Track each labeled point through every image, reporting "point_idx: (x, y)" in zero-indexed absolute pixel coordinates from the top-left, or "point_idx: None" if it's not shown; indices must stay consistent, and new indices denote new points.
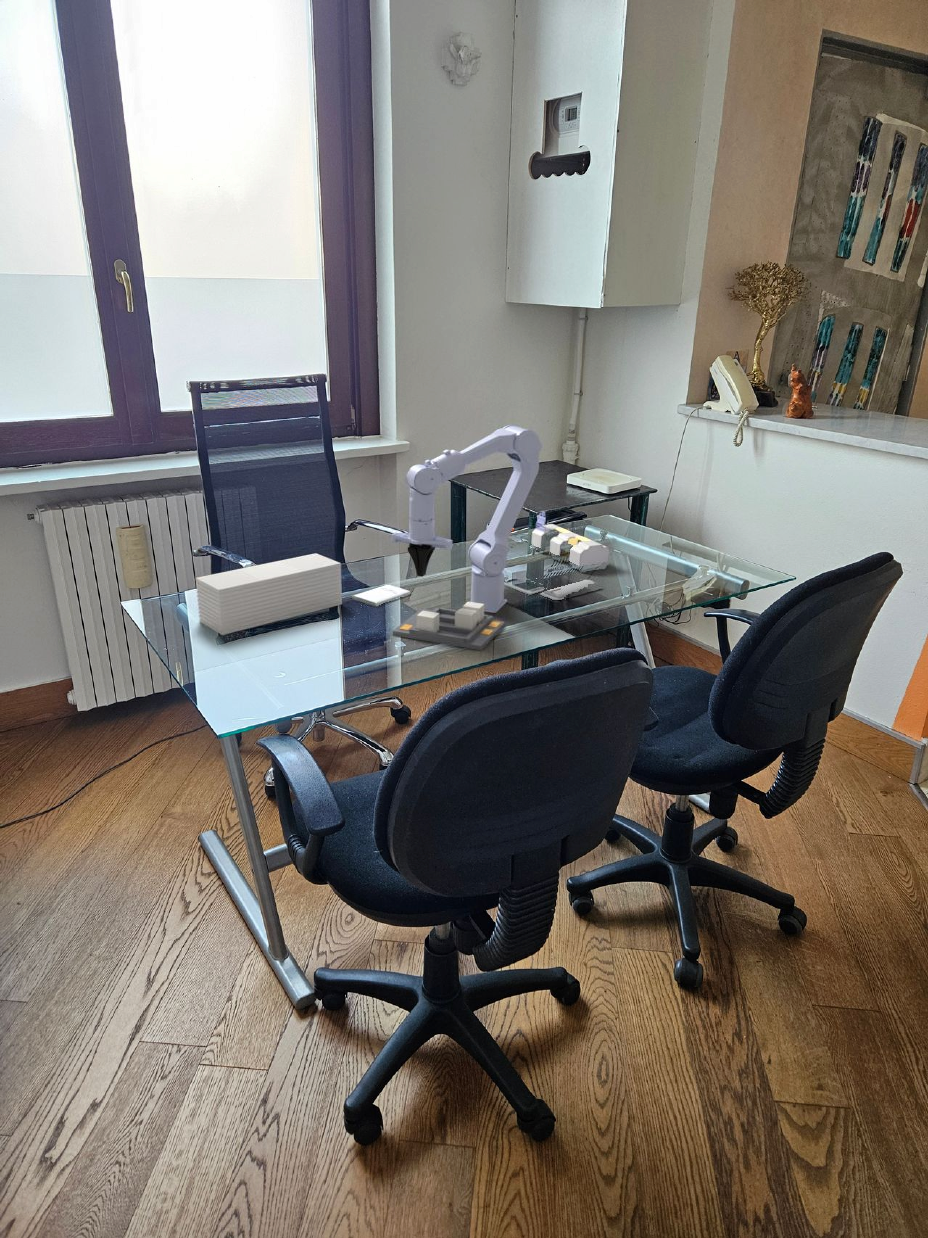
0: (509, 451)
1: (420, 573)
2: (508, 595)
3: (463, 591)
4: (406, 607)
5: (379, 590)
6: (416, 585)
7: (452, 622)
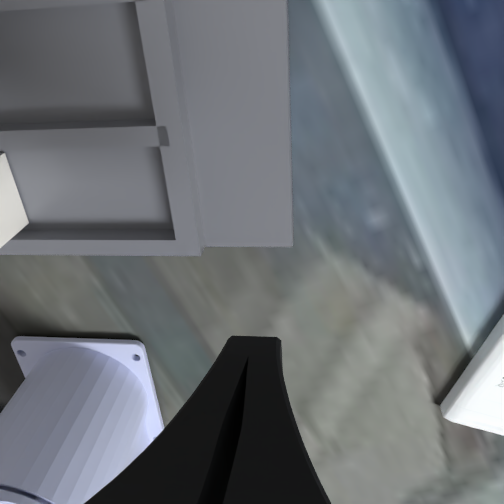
0: None
1: (237, 350)
2: None
3: None
4: (396, 268)
5: None
6: (448, 486)
7: (38, 124)
